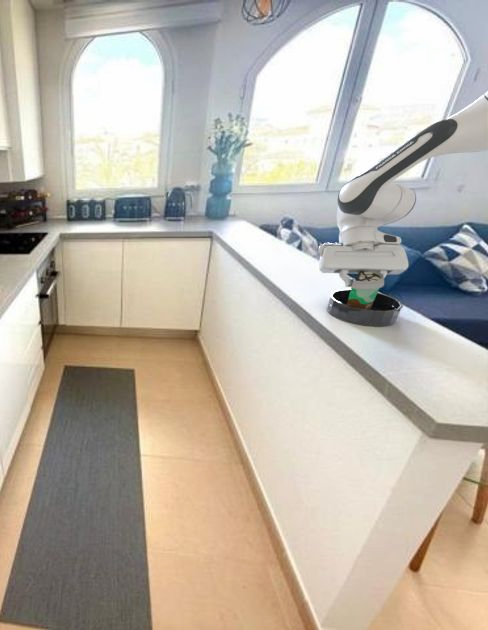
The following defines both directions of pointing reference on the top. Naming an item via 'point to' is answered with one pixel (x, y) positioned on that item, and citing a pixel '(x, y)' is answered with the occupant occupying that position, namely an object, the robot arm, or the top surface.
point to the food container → (365, 289)
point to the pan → (379, 315)
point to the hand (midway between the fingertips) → (364, 286)
